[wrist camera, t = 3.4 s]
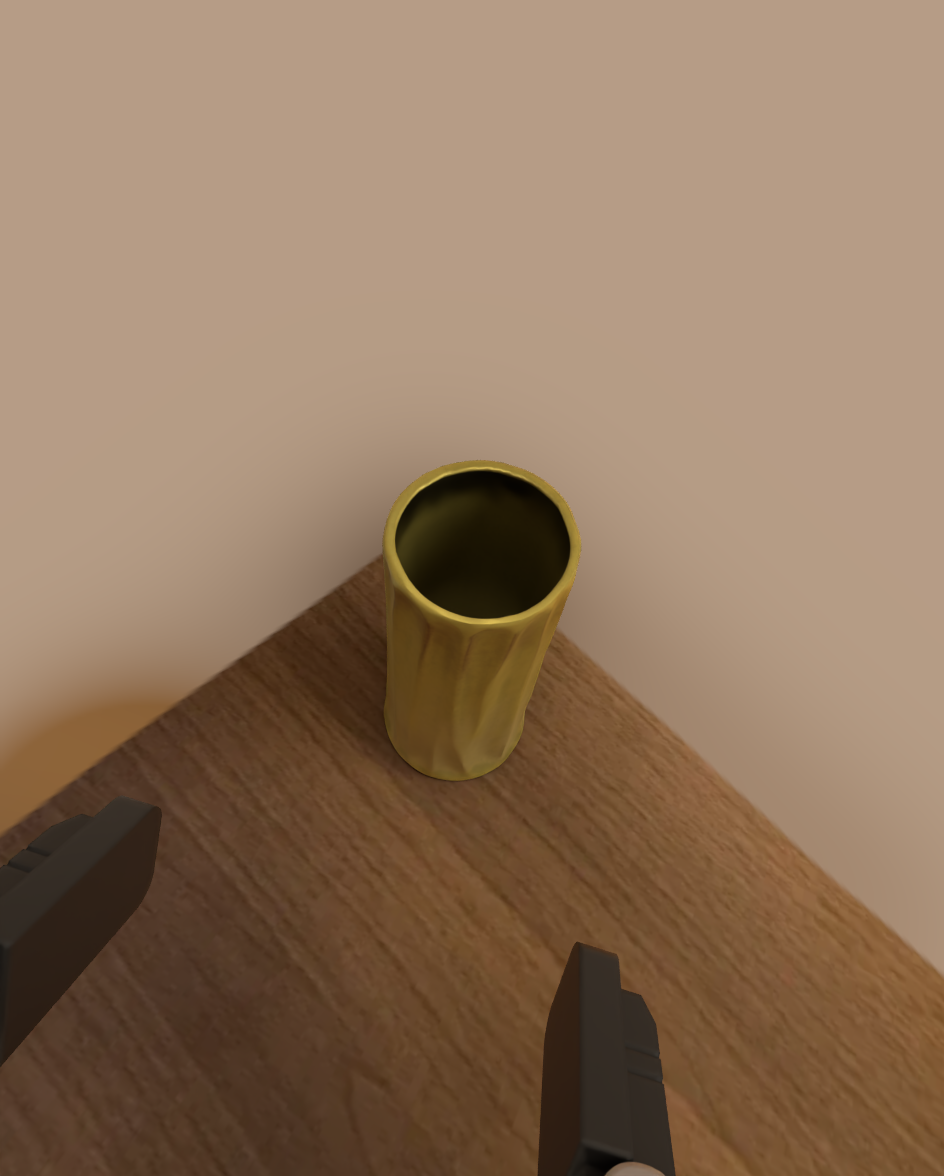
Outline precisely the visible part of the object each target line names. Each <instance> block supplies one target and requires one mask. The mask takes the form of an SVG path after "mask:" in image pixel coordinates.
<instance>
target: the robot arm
mask: <svg viewBox="0 0 944 1176" xmlns="http://www.w3.org/2000/svg"><path fill="white" fill-rule="evenodd" d="M161 817H162V812H161V809H160V808H159V807H157V806H154V805H151V804H148V803H144V802H141V801H138V800H135V799H132V798H129V797H125V796H119V797H117V798H115V799H114V800H113V801H112V802H110V803H109V804H108V805H107V806H106V807H105V808H103V809H102V810H101V811H100V812H99V813H98V814H97V815H95V816H94V817H90V816H87V815H84V814H80V815H77V816H75V817H73V818H70V819H68V820H66V821H63V822H61V823H59V824H56V825H54V826H51V827H50V828H49V829H48V830H46V831H45V832H44V833H43V834H41V835H40V836H39V837H38V838H37V839H35V840H34V841H33V842H32V843H30V844H29V845H28V847H27V849H26V850H25V849H23V850H22V851H21V852H19V853H18V854H17V855H16V856H14V857H13V858H12V859H11V860H9V863H8V864H7V865H3V866H2V867H1V868H0V1067H1V1066H2V1064H3V1063H4V1062H5V1061H6V1060H7V1059H8V1057H9V1056H10V1055H11V1054H12V1053H13V1052H14V1050H15V1049H16V1048H17V1047H18V1046H19V1045H20V1044H21V1042H22V1041H23V1040H24V1039H25V1038H26V1037H27V1035H28V1034H29V1033H30V1032H31V1031H32V1030H33V1028H34V1027H35V1026H36V1025H37V1024H38V1023H39V1022H40V1020H41V1019H42V1018H43V1017H44V1016H45V1015H46V1013H47V1012H48V1011H49V1010H50V1009H51V1008H52V1006H53V1005H54V1004H55V1003H56V1002H57V1001H58V1000H59V998H60V997H61V996H62V995H63V994H64V993H65V991H66V990H67V989H68V988H69V987H70V986H71V984H72V983H73V982H74V981H75V980H76V979H77V978H78V976H79V975H80V974H81V973H82V972H83V971H84V969H85V968H86V967H87V966H88V965H89V964H90V962H91V961H92V960H93V959H94V958H95V957H96V956H97V954H98V953H99V952H100V951H101V950H102V949H103V947H104V946H105V945H106V944H107V943H108V942H109V940H110V939H111V938H112V937H113V936H114V935H115V934H116V932H117V931H118V930H119V929H120V928H121V927H122V925H123V924H124V923H125V922H126V921H127V920H128V918H129V917H130V916H131V915H132V914H133V913H134V911H135V910H136V909H137V908H138V906H139V905H140V904H141V902H142V900H143V899H144V897H145V895H146V893H147V891H148V889H149V886H150V884H151V881H152V877H153V873H154V866H155V859H156V852H157V845H158V838H159V831H160V825H161ZM659 1054H660V1052H659V1044H658V1036H657V1028H656V1023H655V1021H654V1019H653V1017H652V1016H651V1014H650V1012H649V1010H648V1008H647V1006H646V1004H645V1002H644V1000H643V998H642V996H641V995H639V994H636V993H633V992H629V991H626V990H623V989H621V983H620V970H619V959H618V956H617V954H614V953H611V952H608V951H605V950H602V949H599V948H596V947H592V946H589V945H586V944H583V943H580V942H576V943H575V945H574V946H573V949H572V951H571V954H570V957H569V959H568V962H567V965H566V968H565V970H564V973H563V976H562V979H561V981H560V984H559V987H558V990H557V992H556V995H555V998H554V1001H553V1003H552V1006H551V1010H550V1013H549V1017H548V1022H547V1027H546V1033H545V1041H544V1056H543V1077H542V1097H541V1117H540V1138H539V1158H538V1176H675V1168H674V1160H673V1152H672V1145H671V1137H670V1129H669V1121H668V1114H667V1106H666V1098H665V1090H664V1084H662V1079H663V1075H662V1067H661V1059H659Z"/></svg>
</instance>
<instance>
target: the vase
mask: <svg viewBox="0 0 944 1176" xmlns="http://www.w3.org/2000/svg"><path fill="white" fill-rule="evenodd" d="M382 544H383V545H382V546H383V560H384V578H385V594H386V619H387V684H386V699H385V704H384V720H385V725H386V730H387V733H388V736H389V738H390V741H391V743H392V744H393V746H394V748H395V749H396V751H397V752H398V754H399V755H400V756H401V757H402V758H403V759H404V760H405V761H406V762H407V763H408V764H409V765H411V766H412V767H413V768H415V769H416V770H418V771H419V772H421V773H423V774H425V775H428V776H430V777H434V778H437V779H442V780H450V781H461V780H468V779H473V778H476V777H480V776H482V775H484V774H486V773H488V772H490V771H492V770H494V769H495V768H497V767H498V766H500V765H501V764H502V763H503V762H504V761H505V760H506V759H507V758H508V756H509V755H510V754H511V752H512V751H513V749H514V748H515V746H516V744H517V743H518V741H519V739H520V736H521V734H522V731H523V726H524V717H525V709H526V706H527V704H528V702H529V700H530V698H531V695H532V692H533V689H534V686H535V683H536V680H537V677H538V674H539V671H540V668H541V665H542V662H543V659H544V655H545V652H546V650H547V648H548V646H549V644H550V642H551V639H552V637H553V634H554V632H555V629H556V627H557V624H558V622H559V619H560V616H561V614H562V611H563V608H564V606H565V602H566V600H567V597H568V595H569V592H570V590H571V588H572V585H573V583H574V580H575V576H576V570H577V566H578V562H579V558H580V552H581V539H580V534H579V530H578V528H577V525H576V522H575V519H574V517H573V514H572V511H571V509H570V507H569V506H568V504H567V502H566V501H565V500H564V498H563V497H562V496H561V495H560V494H559V493H558V492H557V491H556V490H555V489H554V488H553V487H552V486H551V485H549V484H548V483H547V482H545V481H544V480H543V479H541V478H540V477H538V476H536V475H535V474H533V473H531V472H529V471H527V470H524V469H521V468H518V467H515V466H512V465H509V464H505V463H502V462H495V461H486V460H475V461H464V462H458V463H453V464H449V465H445V466H441V467H439V468H437V469H435V470H432V471H430V472H428V473H425V474H424V475H422V476H421V477H419V478H418V479H417V480H416V481H414V482H413V483H412V484H410V485H409V486H408V487H407V488H406V489H405V490H404V491H403V492H402V493H401V494H400V496H399V497H398V499H397V500H396V501H395V503H394V505H393V506H392V508H391V510H390V513H389V516H388V518H387V521H386V525H385V529H384V535H383V543H382Z"/></svg>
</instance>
